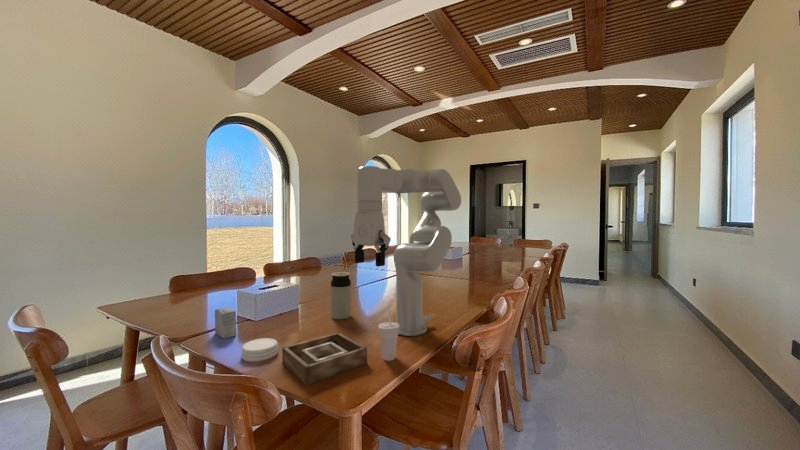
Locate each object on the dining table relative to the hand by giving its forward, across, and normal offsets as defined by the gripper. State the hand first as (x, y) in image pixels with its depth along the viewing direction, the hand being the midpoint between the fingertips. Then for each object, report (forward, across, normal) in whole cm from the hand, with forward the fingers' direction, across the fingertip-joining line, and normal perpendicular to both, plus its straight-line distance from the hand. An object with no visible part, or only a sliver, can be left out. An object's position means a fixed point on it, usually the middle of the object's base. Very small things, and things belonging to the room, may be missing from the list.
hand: (369, 264), depth 98 cm
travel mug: (+27, -35, +14) cm, 47 cm away
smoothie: (+27, +7, +2) cm, 28 cm away
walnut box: (+27, -3, -14) cm, 31 cm away
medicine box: (+27, -48, -26) cm, 61 cm away
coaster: (+28, -22, -24) cm, 43 cm away
